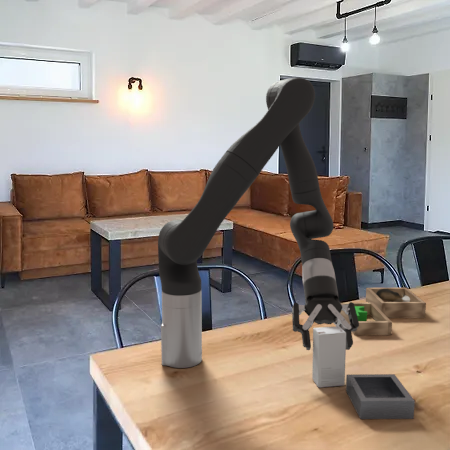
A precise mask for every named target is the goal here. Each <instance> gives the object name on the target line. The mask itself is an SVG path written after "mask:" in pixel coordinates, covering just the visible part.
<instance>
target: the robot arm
mask: <svg viewBox="0 0 450 450" xmlns="http://www.w3.org/2000/svg"><path fill="white" fill-rule="evenodd" d="M315 99H316V92H315V88H314V85H313V84H312V82H311V81H309V80H308V79H306V78H303V77H290V78H285V79H281V80H277V81H275V82H273V83H272V84H271V85H270V86H269V88H268V89H267V92H266V94H265V101H266V102H265V103H266V107H267V111H266V113H265V114H264V115H263V117H262V118H261V119H260V120H259V121H258V122H257V123H256V124H255V125H254V126H252V127H251V128H250V129H249V130H247V131H246V132H245V133H243V134H242V135H241V136H240V137H239V138H238V139H236V140H235V141H234V142H233V143H232V144H231V145H230V147H228V148H227V150H226V151H225V152H224V154H223V155H222V156H221V158H220V159H218V161H217V163H216V164H215V166H214V168H213V169H212V171H211V173H210V175H209V176H208V178H207V179H208V180H207V182H206V184H205V187H204V190H203V192H202V194H201V196H200V198H199V200H198V201H197V203H196V204H195V206H194V207H193V208H192V209H191V211H190V212H189V213H188V214H187V215H186V216H185V218H184V219H173V220H170V221H168V222H167V223H165V224H164V225H163V226H162V227H161V229H160V232H159V233H158V239H157V257H158V258H157V259H158V274H159V279H160V284H161V286H160V287H161V320H162V322H161V325H160V336H161V337H160V340H161V341H160V342H161V346H160V347H161V350H160V351H161V352H160V353H161V365H162V366H166V367H167V366H168V367H171V368H174V369H184V368H186V369H187V368H192V367H196V366H197V365H199V364H201V362H202V361H203V347H202V346H203V334H202V333H203V332H202V331H203V330H202V329H203V327H202V326H203V325H202V323H203V322H202V320H203V318H202V317H203V316H202V278H201V275H200V273H199V269H198V262H197V261H198V259H200V258H201V256H203V254H204V253H205V251H206V249H207V248H208V246H209V244H210V242H212V239H213V238H214V236H215V234H216V232H217V231H218V229H219V228H220V226H221V224H222V223H223V222H224V220H225V219H226V218H227V217H228V215H229V214H230V212H231V211H232V210H233V209H234V207H235V206H236V205H237V203H239V201H240V199H241V198H242V197H243V196H244V194H245V193H246V192H247V191H248V190H249V188H250V187H251V186H252V184H253V183H254V182H255V181H256V179H257V178H258V177H259V175H260V174H261V172H262V171H263V169H264V168H265V166H266V165H267V164H268V163H269V162H270V159H272V157H273V156H274V154H275V153H276V151H278V149H279V147H280V148H281V151H282V155H283V160H284V164H285V168H286V172H287V177H288V182H289V188H290V192H291V198H292V201H293V203H295V204H296V205H306V206H312V207H313V208H314V209H315V210H310V211H309V210H307V211H303V212H297V213H295V214H294V215H292V217H291V219H290V222H289V226H290V227H289V228H290V231H291V233H292V235H293V237H294V239H295V241H296V243H297V246H298V248H299V252H300V258H301V259H300V260H301V266H302V267H301V268H302V269H301V270H302V274H301V275H302V285H303V293H304V301H305V304H299V303H298V302H294V303H293V304H292V308H291V315H292V316H291V319H292V321H291V322H292V331H293V332H294V333H296V332H297V333H300V334H301V341H302V347H303V348H305V350H306V351H310V350H311V348H312V347H311V346H312V345H311V334H310V329H311V328H312V326H313V325H314V323H315V324H317V325H323V324H324V325H332V324H334V325H335V326H339V327H340V328H342V329H343V330H344V331H345V332H346V351H349V350H350V349H351V348H352V346H353V345H354V340H353V332H352V331H356V330H357V328H358V326H359V322H358V318H357V314H356V310H355V305H354V303H355V302H352V301H351V302H348V303H349V304H346V305H341V303H342V302H340V299H339V291H338V286H337V280H336V274H335V269H334V266H333V262H332V256H331V250H330V246H329V244H328V243H327V242H326V241H324V240H320V238H327V237H329V236H330V235H331V234H332V232H333V231H334V220H333V218H332V216H331V214H330V212H329V210H328V208H327V206H326V204H325V202H324V199H323V197H322V193H321V189H320V184H319V183H320V182H319V177H318V172H317V168H316V165H315V161H314V160H313V157H312V155H311V153H310V151H309V149H308V147H307V145H306V143H305V141H304V137H303V135H302V131H301V128H300V127H301V126H300V123H301V122H302V121H303V120H304V119H305V118H306V116H307V115H308V114H309V113H310V112H311V110H312V108H313V106H314V104H315V101H316V100H315ZM341 310H343V311H344V312H345V313H346V314H348V317H349V321H350V324H349V323H348V322H347V321H346V320H345V318H344V317H343V316H342V315H341V314H340V312H341ZM302 312H305V313H306V315H307V316H308V317H307V319H306V321H305V322H304V324H301V323H300V315H302Z"/></svg>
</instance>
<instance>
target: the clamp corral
mask: <svg viewBox="0 0 450 450" xmlns="http://www.w3.org/2000/svg"><path fill="white" fill-rule="evenodd" d="M340 303H341V305H346V304H349V303H350V302H340ZM353 303H354V305H355V306H364V311H367V316H371V318H372V319H373V320H369V321H358V322H359V326H358V328H357V330H356V331H352V332H351V333H352V335H354V336H391V335H392V332H393V322H392V320H391V319H390V318H387V317H386V316H385V314H384V313H383V312H382V311H381V310H380V309H379V308H378V307H377V306H376V305H375V304H374V303H367V302H353ZM340 314H341V315H342V316H343V317H344V318H345V320H346V321H347V322H348V323H349V324H350V321H349V317H348V314H346V313H345V312H344V311H343V310H341V312H340Z"/></svg>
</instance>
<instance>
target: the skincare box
mask: <svg viewBox="0 0 450 450" xmlns="http://www.w3.org/2000/svg"><path fill="white" fill-rule="evenodd" d="M346 351H347V350H346V332H345V331H344V330H343V329H342V328H340V327H339V326H336V325H335V326H323V327H313V328H312V370H311V372H312V373H311V374H312V377H311V378H312V380H313V382H314V384H315V385H316V387H317V388H328V387H340V386H346V357H347V356H346V354H347V353H346Z"/></svg>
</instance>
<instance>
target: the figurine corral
mask: <svg viewBox="0 0 450 450" xmlns="http://www.w3.org/2000/svg"><path fill="white" fill-rule="evenodd" d="M380 289H389V290H391V291H393V292H398V293H399V295H400V296H401V298H402V293H403V294H404V295H405V296H406V295H407V296H408V297H409V298H410V302H392V301H387V300H383V299H381V298H380V297H378V296H377V295H376V292H377V291H378V290H380ZM367 302H368V303H374V304H375V305H376V306H377V307H378V308H379V309H380V310H381V311H382V312H383V313H384V314H385V316H386V317H387V318H388V319H390V318H391V319H394V318H395V319H404V318H405V319H407V318H409V319H413V318H416V319H417V318H419V319H420V318H422V319H424V318H425V319H426V311H427V310H426V309H427V302H426V301H424V300H423V299H421V298H420V297H419V296H417V294H415V293H413V292H412V291H411V290H410V289H408V287H366V289H365V303H367Z"/></svg>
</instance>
